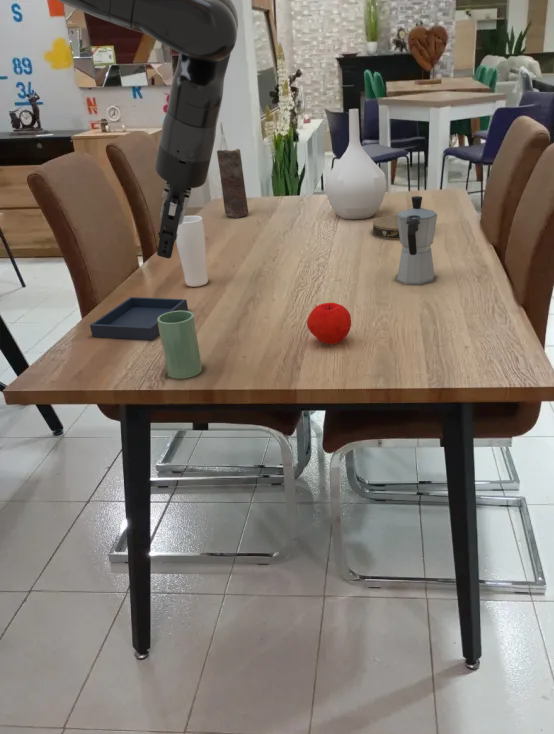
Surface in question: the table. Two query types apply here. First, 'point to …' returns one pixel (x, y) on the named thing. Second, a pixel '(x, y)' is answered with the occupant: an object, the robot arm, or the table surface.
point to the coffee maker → (416, 243)
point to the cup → (180, 344)
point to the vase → (355, 179)
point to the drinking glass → (192, 250)
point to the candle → (232, 183)
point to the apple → (329, 323)
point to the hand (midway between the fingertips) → (167, 242)
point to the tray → (136, 318)
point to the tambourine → (386, 227)
